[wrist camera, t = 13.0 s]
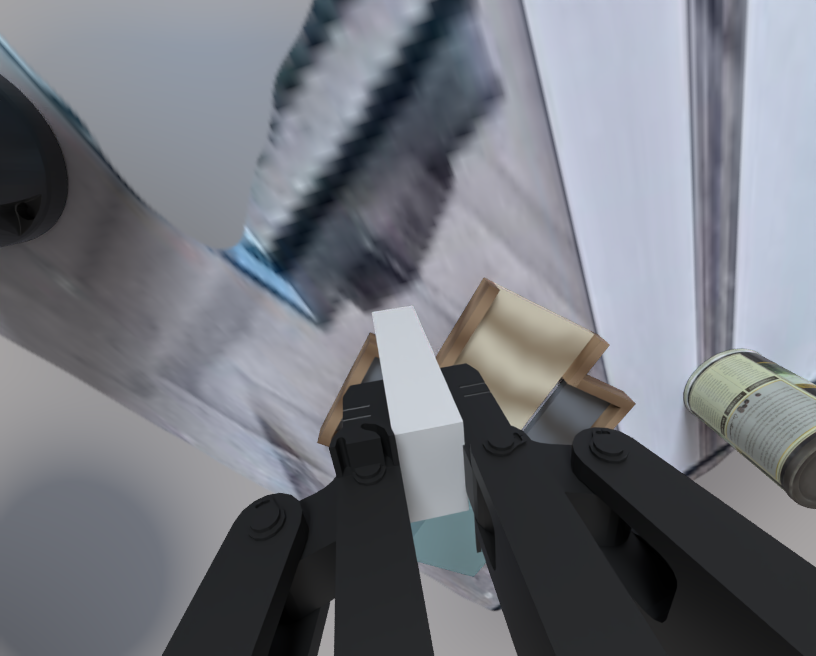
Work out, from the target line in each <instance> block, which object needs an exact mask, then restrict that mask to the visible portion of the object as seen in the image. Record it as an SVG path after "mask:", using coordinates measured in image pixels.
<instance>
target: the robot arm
mask: <svg viewBox="0 0 816 656" xmlns="http://www.w3.org/2000/svg"><path fill="white" fill-rule="evenodd" d="M67 185H68V183H67V173H66V167H65V163H64V159H63V156H62V153H61V150H60V148H59V145H58V143H57V141H56V139H55V137H54V135H53V133H52V131H51V129H50V128H49V126H48V124H47V123H46V121H45V120H44V118H43V117H42V116H41V114H40V113H39V112H38V110H37V109H36V108H35V107H34V105H33V104H32V103H31V102H30V101H29V100H28V99H27V98H26V97H25V96H24V95H23V94H22V92H21V91H19V90H18V89H17V88H16V87H15V86H14V85H13V84H12V83H10V82H9V81H8V80H7V79H6V78H4V77H3V76H2V75H0V247H3V246H8V245H12V244H16V243H20V242H24V241H28V240H31V239H34V238H36V237H38V236H40V235H42V234H43V233H45V232H46V231H48V230H49V229H50V228H51V227H52V226H53V225H54V224H55V223H56V221H57V220H58V218H59V217H60V215H61V213H62V211H63V209H64V206H65V202H66V197H67ZM372 316H373V322H374V328H375V334H376V340H377V346H378V352H379V358H380V363H381V369H382V375H383V380H378V381H372V382H367V383H361V384H356V385H350V386H349V388H348V389H347V391H346V393H345V394H344V396H343V428H342V429H340V430H339V431H338V432H337V433H336V434H335V435H334V437H333V438H332V439H331V443H330V446H329V450H330V454H331V458H332V461H333V465H334V469H335V472H336V477H335V478H334V480H333V481H332V482H331V483H330V484H329V485H327V486H326V487H325V488H323V489H322V490H320V491H318V492H317V493H315V494H313V495H311V496H309V497H307V498H305V499H303V500H301V501H299V500H297V499H296V498H295V497H293V496H292V495H289V494H284V493H277V494H271V495H267V496H265V497H262V498H260V499H258V500H256V501H254V502H253V503H252V504H250V505H249V506H248V507H247V508H245V509H244V510H243V511H242V512H241V514H240V515H239V516H238V518H237V519H236V520H235V522H234V523H233V525H232V527H231V529H230V531H229V532H228V534H227V536H226V538H225V540H224V542H223V544H222V545H221V547H220V549H219V551H218V553H217V555H216V556H215V558H214V560H213V562H212V564H211V566H210V568H209V569H208V571H207V573H206V575H205V577H204V579H203V580H202V582H201V584H200V586H199V588H198V590H197V592H196V593H195V595H194V597H193V599H192V601H191V603H190V605H189V606H188V608H187V610H186V612H185V614H184V616H183V617H182V619H181V621H180V623H179V625H178V627H177V629H176V630H175V632H174V634H173V636H172V638H171V640H170V641H169V643H168V645H167V647H166V649H165V651H164V653H163V654H162V656H317V655H318V650H319V646H320V642H321V638H322V634H323V630H324V626H325V622H326V618H327V613H328V610H329V605H330V601H331V600H333V599H334V598H335V636H334V656H434V651H433V646H432V640H431V635H430V629H429V624H428V618H427V613H426V607H425V601H424V596H423V591H422V585H421V579H420V574H419V568H418V562H417V557H416V551H415V546H414V540H413V535H412V529H411V524H410V523H412V522H417V521H421V520H426V519H431V518H435V517H440V516H445V515H449V514H454V513H458V512H463V511H468V510H469V503H468V498H469V501H470V504H471V507H472V510H473V512H474V522H475V539H476V550H477V553H479V552H481V549H482V552H483V555H484V558H485V561H486V564H487V567H488V570H489V573H490V576H491V578H492V581H493V584H494V587H495V590H496V593H497V596H498V599H499V602H500V605H501V608H502V611H503V614H504V617H505V620H506V623H507V626H508V629H509V632H510V634H511V638H512V640H513V643H514V646H515V649H516V652H517V655H518V656H816V567H815V566H813V565H812V564H810V563H809V562H807V561H806V560H804V559H803V558H802V557H800V556H799V555H798V554H796V553H795V552H793V551H792V550H790V549H789V548H788V547H786V546H785V545H783V544H782V543H780V542H779V541H778V540H776V539H775V538H773V537H772V536H771V535H769V534H768V533H766V532H765V531H763V530H762V529H761V528H759V527H757V526H756V525H755V524H754V523H752V522H751V521H749V520H748V519H746V518H745V517H744V516H742V515H741V514H739V513H738V512H736V511H735V510H734V509H732V508H731V507H729V506H728V505H727V504H725V503H724V502H722V501H721V500H720V499H718V498H717V497H715V496H714V495H712V494H711V493H710V492H708V491H707V490H705V489H704V488H702V487H701V486H700V485H698V484H697V483H695V482H694V481H693V480H691V479H690V478H688V477H687V476H686V475H684V474H683V473H681V472H680V471H678V470H677V469H676V468H674V467H673V466H671V465H670V464H669V463H667V462H666V461H664V460H663V459H661V458H660V457H659V456H657V455H656V454H654V453H653V452H651V451H650V450H649V449H647V448H646V447H644V446H643V445H642V444H640V443H639V442H637V441H636V440H634V439H633V438H631V437H630V436H628V435H626V434H624V433H622V432H620V431H617V430H613V429H609V428H600V427H593V428H588V429H584V430H582V431H581V432H579V433H578V434H576V435H575V437H574V440H573V443H572V445H563V444H547V443H539V442H536V441H533V440H531V439H530V438H529V437H528V435H527V434H526V433H525V432H524V431H522V430H520V429H518V428H516V427H514V426H511V425H510V423H509V421H508V420H507V418H506V416H505V415H504V413H503V411H502V410H501V408H500V406H499V405H498V403H497V401H496V400H495V398H494V396H493V395H492V393H491V392H490V390H489V388H488V386H487V385H486V384H485V381H484V380H483V378H482V376H481V375H480V373H479V371H478V370H476V369H475V368H473V367H471V366H470V365H468V364H467V363H464V364H459V365H453V366H448V367H442V368H440V367H439V365H438V363H437V360H436V358H435V356H434V353H433V351H432V349H431V346H430V344H429V342H428V339H427V337H426V335H425V333H424V330H423V328H422V326H421V323H420V321H419V319H418V316H417V314H416V312H415V309H414V307H413V305H412V306H406V307H400V308H394V309H388V310H382V311H376V312H372Z"/></svg>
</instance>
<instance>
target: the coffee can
mask: <svg viewBox="0 0 816 656" xmlns="http://www.w3.org/2000/svg"><path fill="white" fill-rule="evenodd" d="M684 401H685V405H686V407H687V409H688V410H689V411H690V412H691V413H692V414H694V415H696V416H697V417H698V418H699V419H700V420H702V421H703V422H704V423H705V424H706V425H707V426H709V427H710V428H711V429H712V430H713V431H715V432H716V433H717V434H718V435H719V436H720V437H722V438H723V439H724V440H725V441H726V442H728V443H729V444H730V445H731V446H732V447H733V448H735V449H736V450H737V451H738V452H739V453H740V454H742V455H743V456H744V457H745V458H746V459H748V460H749V461H750V462H751V463H752V464H754V465H755V466H756V467H757V468H758V469H759V470H761V471H762V472H763V473H764V474H765V475H766V476H768V477H769V478H770V479H771V480H772V481H774V482H775V483H776V484H777V485H778V486H780V487H781V488H782V489H783V490H784V491H785V492H786V493H787V494H788V496H789V497H790V498H791V499H793V500H794V501H795V502H796V503H798V504H799V505H801V506H804V507H807V508H812V509H816V385H815V384H813V383H811V382H809V381H807V380H805V379H804V378H802V377H800V376H798V375H796V374H794V373H792V372H791V371H789V370H787V369H785V368H783V367H781V366H779V365H777V364H776V363H774V362H772V361H770V360H768V359H766V358H765V357H763V356H761V355H760V354H759V353H757V352H755V351H752V350H748V349H733V350H728V351H725V352H722V353H719V354H717V355H715V356H713V357H711V358H710V359H708V360H707V361H705V362H704V363H703V364H702V365H700V366H699V367H698V368H697V370H696V371H695V372H694V373H693V374H692V375H691V377H690V378H689V380H688V382H687V385H686V387H685V391H684Z"/></svg>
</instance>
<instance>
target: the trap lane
mask: <svg viewBox="0 0 816 656" xmlns="http://www.w3.org/2000/svg"><path fill="white" fill-rule="evenodd" d="M608 347H609V344H608V343H607V342H606V341H605V340H604V339H602V338H601V337H600V336H599V335H598V334H596V333H594V332H592V331H590V330H588V329H586V328H584V327H582V326H580V325H578V324H576V323H574V322H572V321H570V320H568V319H566V318H564V317H562V316H560V315H558V314H556V313H554V312H552V311H550V310H548V309H546V308H544V307H542V306H540V305H538V304H536V303H534V302H532V301H530V300H528V299H526V298H524V297H522V296H520V295H518V294H516V293H514V292H512V291H510V290H508V289H506V288H504V287H502V286H500V285H498V284H496V283H494V282H492V281H490V280H488V279H486V278H483V280H482V281H481V283H480V285H479V286H478V288H477V290H476V291H475V293H474V295H473V296H472V298H471V300H470V301H469V303H468V305H467V306H466V308H465V310H464V311H463V313H462V315H461V316H460V318H459V320H458V321H457V323H456V324H455V326H454V328H453V329H452V331H451V333H450V334H449V336H448V338H447V339H446V341H445V343H444V344H443V346H442V348H441V349H440V351H439V353H438V354H437V356H436V360H437V363H438V365H439V367H440V368H442V367H448V366H453V365H459V364H464V363H467V364H468V365H470V366H471V367H473V368H475V369H476V370H478V371H479V373H480V375H481V376H482V378H483V380H484V381H485V384H486V385H487V386H488V388H489V390H490V392H491V393H492V395H493V396H494V398H495V400H496V401H497V403H498V405H499V406H500V408H501V410H502V411H503V413H504V415H505V416H506V418H507V420H508V421H509V423H510V425H511V426H514V427H516V428H518V429H520V430H521V429H522V428H523V427H524V425H525V424H526V423H527V421H528V420H529V419H530V417H531V416H532V415H533V414H534V412H535V411H536V410H537V408H538V407H539V406H540V404H541V403H542V402H543V401H544V399H545V398H546V397H547V395H548V394H549V393H550V391H551V390H552V389H553V388H554V386H555V385H556V384H557V382H558V381H559V380H560V378H561V377H563V381H562V382H561V383H560V385H559V386H558V387H557V388H556V390H555V391H554V392H553V394H552V395H551V396H550V398H549V399H548V400H547V401H546V403H545V404H544V405H543V407H542V408H541V409H540V410H539V412H538V413H537V414H536V416H535V417H534V418H533V420H532V421H531V422H530V423H529V425H528V426H527V427H526V429H525V430H524V432H525V433H526V434H527V435H528V437H529V438H530V439H531V440H533V441H536V442H539V443H547V444H563V445H572V443H573V440H574V437H575V435H576V434H578V433H579V432H581V431H582V430H584V429H588V428H593V427H600V428H609V429H614V428H615V427H616V426H617V424H618V423H619V422H620V421H621V420H622V419H623V418H624V416H625V415H626V414H627V413H628V412H629V411H630V410H631V409H632V407H633V406H634V405H635V403H634V402H633V401H632V400H631V399H630V398H629V397H628V396H627V395H626V394H625V393H624V392H623V391H621V390H619V389H617V388H615V387H613V386H611V385H608V384H606V383H604V382H602V381H600V380H598V379H595V378H593V377H591V376H589V375H587V373H588V372H589V370H590V369H591V368H592V367H593V365H594V364H595V363H596V362H597V360H598V359H599V358H600V357H601V355H602V354H603V353H604V352H605V350H606V349H607V348H608ZM378 380H383V375H382V369H381V363H380V358H379V352H378V346H377V340H376V335H375V334H372V333H369V335H368V337H367V339H366V341H365V343H364V345H363V347H362V349H361V351H360V353H359V355H358V357H357V359H356V361H355V363H354V365H353V366H352V368H351V370H350V372H349V374H348V376H347V378H346V380H345V382H344V384H343V386H342V388H341V390H340V392H339V394H338V396H337V398H336V400H335V401H334V403H333V405H332V407H331V409H330V411H329V413H328V415H327V417H326V419H325V421H324V423H323V425H322V427H321V429H320V433H319V438H318V442H317V443H319V444H322V445H325V446H328V447H329V446H330V443H331V439H332V438H333V437H334V435H335V434H336V433H337V432H338V431H339V430H340V429H342V428H343V396H344V394H345V393H346V391H347V389H348V388H349V386H350V385H356V384H361V383H367V382H372V381H378Z"/></svg>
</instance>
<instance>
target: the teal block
mask: <svg viewBox="0 0 816 656" xmlns="http://www.w3.org/2000/svg"><path fill="white" fill-rule="evenodd" d="M468 503H469V510H468V511H463V512H458V513H454V514H449V515H445V516H440V517H435V518H431V519H426V520H421V521H417V522H412V523H410V524H411V529H412V535H413V540H414V546H415V551H416V557H417V562H421V563H424V564H428V565H432V566H435V567H439V568H443V569H446V570H450V571H454V572H457V573H461V574H465V575H468V576H472V577H474V576H475V575H476V574H477V572H478V571H479V570H480V569H481V568H482V567H483V566H484V564H485V563H486V561H485V558H484V555H483V552H482V549H481V552H479V553H477V550H476V539H475V522H474V512H473V510H472V507H471V504H470V501H469V498H468Z"/></svg>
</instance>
